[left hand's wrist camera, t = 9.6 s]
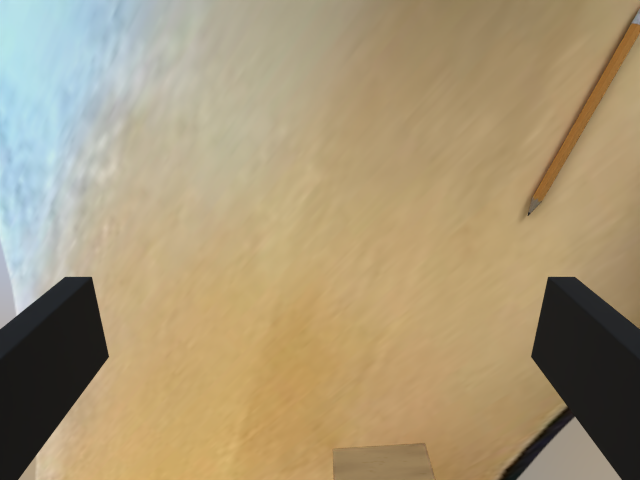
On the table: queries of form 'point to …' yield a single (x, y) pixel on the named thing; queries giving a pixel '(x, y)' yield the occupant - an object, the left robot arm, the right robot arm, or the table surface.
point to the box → (383, 463)
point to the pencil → (587, 111)
